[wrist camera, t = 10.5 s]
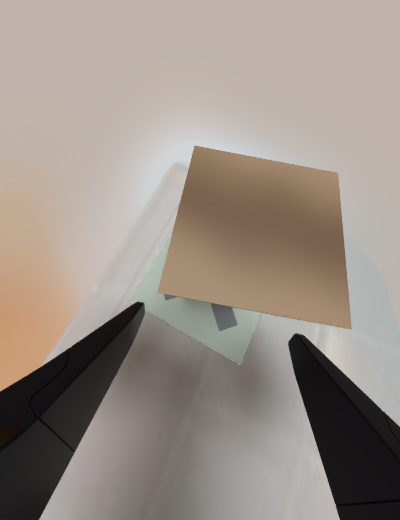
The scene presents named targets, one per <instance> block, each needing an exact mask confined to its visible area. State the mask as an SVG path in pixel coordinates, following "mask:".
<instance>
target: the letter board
mask: <svg viewBox="0 0 400 520" xmlns="http://www.w3.org/2000/svg"><path fill="white" fill-rule="evenodd" d="M171 237H172V236H171ZM170 241H171V238H170V239H169V241H168V242H167V244H166V245H165V247H164V249H163V250H162V252H161V253H160V255H159V256H158V258H157V259H156V261H155V263H154V264H153V266H152V267H151V269H150V270H149V272H148V273H147V275H146V276H145V278H144V280H143V281H142V283H141V284H140V286H139V287H138V289H137V290H136V292H135V294H134V295H133V297H132V298H131V300H130V301H129V302H131V303H133V304H134V303H136V302H138V301H139V302H143V303H144V304H145V311H147V312H148V313H150V314H152V315H154V316H155V317H157V318H159V319H160V320H162V321H164V322H166V323H167V324H169V325H171V326H173V327H174V328H176V329H178V330H179V331H181V332H183V333H185V334H186V335H188V336H190V337H191V338H193V339H195V340H197V341H198V342H200V343H202V344H204V345H205V346H207V347H209V348H210V349H212V350H214V351H216V352H217V353H219V354H221V355H223V356H224V357H226V358H228V359H229V360H231V361H233V362H235V363H236V364H238V365H240V366H241V364H242V362H243V359H244V357H245V354H246V352H247V349H248V346H249V344H250V341H251V339H252V336H253V334H254V331H255V328H256V326H257V323H258V321H259V318H260V316H261V312H255V311H250V310H244V309H239V308H234V307H228V306H223V305H218V304H212V303H207V302H202V301H197V300H191V299H186V298H181V297H176V296H171V295H167V294H162V293H157V292H158V288H159V284H160V280H161V276H162V272H163V268H164V264H165V260H166V256H167V252H168V248H169V245H170Z"/></svg>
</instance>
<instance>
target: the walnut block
mask: <svg viewBox="0 0 400 520" xmlns="http://www.w3.org/2000/svg"><path fill="white" fill-rule="evenodd" d="M157 293H162V294H167V295H171V296H176V297H181V298H186V299H191V300H197V301H202V302H207V303H212V304H218V305H223V306H228V307H234V308H239V309H244V310H250V311H255V312H261V313H266V314H271V315H277V316H282V317H288V318H293V319H298V320H304V321H309V322H315V323H320V324H325V325H331V326H336V327H342V328H347V329H352V328H351V317H350V305H349V294H348V283H347V271H346V260H345V248H344V237H343V225H342V214H341V203H340V191H339V181H338V173H335V172H330V171H324V170H319V169H314V168H309V167H304V166H298V165H293V164H288V163H283V162H277V161H272V160H266V159H261V158H256V157H251V156H246V155H240V154H235V153H230V152H225V151H220V150H214V149H209V148H204V147H199V146H194V151H193V154H192V159H191V162H190V166H189V170H188V174H187V178H186V182H185V186H184V190H183V194H182V197H181V201H180V205H179V209H178V213H177V217H176V221H175V225H174V229H173V233H172V237H171V241H170V245H169V248H168V252H167V256H166V260H165V264H164V268H163V272H162V276H161V280H160V284H159V288H158V292H157Z"/></svg>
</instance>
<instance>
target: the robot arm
mask: <svg viewBox="0 0 400 520" xmlns="http://www.w3.org/2000/svg"><path fill="white" fill-rule="evenodd" d="M144 314H145V304H144V303H143V302H139V301H138V302H136V303H134V304H133V305H131V306H130V307H128V308H127V309H125V310H124V311H122V312H121V313H120V314H118V315H117V316H115V317H114V318H112V319H111V320H109V321H108V322H106V323H105V324H104V325H102V326H101V327H99V328H98V329H96V330H95V331H93V332H92V333H90V334H89V335H88V336H86V337H85V338H83V339H82V340H80V341H79V342H77V343H76V344H74V345H73V346H72V347H71V348H69V349H67V350H66V351H64V352H63V353H61V354H60V355H58V356H57V357H55V358H54V359H52V360H51V361H49V362H48V363H46V364H45V365H43V366H42V367H40V368H38V369H37V370H35V371H33V372H32V373H30V374H29V375H27V376H26V377H24V378H22V379H21V380H19V381H17V382H15V383H14V384H12V385H10V386H9V387H7V388H5V389H4V390H2V391H0V520H39V519H40V517H41V515H42V513H43V511H44V509H45V507H46V505H47V503H48V502H49V500H50V498H51V496H52V494H53V492H54V490H55V488H56V487H57V485H58V483H59V481H60V479H61V477H62V475H63V473H64V472H65V470H66V468H67V466H68V464H69V462H70V460H71V458H72V456H73V455H74V452H75V451H76V449H77V447H78V445H79V443H80V441H81V439H82V437H83V436H84V434H85V432H86V430H87V428H88V426H89V424H90V422H91V421H92V419H93V417H94V415H95V413H96V411H97V409H98V407H99V406H100V404H101V402H102V400H103V398H104V396H105V394H106V392H107V391H108V389H109V387H110V385H111V383H112V381H113V379H114V377H115V375H116V374H117V372H118V370H119V368H120V366H121V364H122V362H123V360H124V359H125V357H126V355H127V353H128V351H129V349H130V347H131V345H132V343H133V341H134V339H135V337H136V334H137V332H138V329H139V327H140V324H141V322H142V319H143V317H144ZM288 346H289V350H290V355H291V360H292V364H293V369H294V373H295V377H296V380H297V383H298V386H299V390H300V393H301V396H302V399H303V402H304V406H305V409H306V412H307V415H308V418H309V422H310V425H311V428H312V431H313V434H314V438H315V441H316V444H317V447H318V450H319V454H320V457H321V460H322V463H323V466H324V470H325V473H326V476H327V479H328V482H329V486H330V489H331V492H332V495H333V498H334V502H335V504H336V508H337V512H338V515H339V518H340V520H400V427H399V426H398V425H397V424H396V423H395V422H394V421H393V420H392V419H391V418H390V417H389V416H388V415H387V414H386V413H385V412H383V411H382V410H381V409H380V408H379V407H378V406H377V405H376V404H375V403H374V402H373V401H372V400H371V399H370V398H369V397H368V396H367V395H366V394H365V393H364V392H363V391H362V390H361V389H359V388H358V387H357V386H356V385H355V384H354V383H353V382H352V381H351V380H350V379H349V378H348V377H347V376H346V375H345V374H344V373H343V372H342V371H341V370H340V369H339V368H338V367H336V366H335V365H334V364H333V363H332V362H331V361H330V360H329V359H328V358H327V357H326V356H325V355H324V354H323V353H322V352H321V351H320V350H319V349H318V348H317V347H316V346H315V345H314V344H312V343H311V342H310V341H309V340H308V339H307V338H306V337H305V336H304V335H302V334H297V333H296V334H294V335H293V337H292V338H291V339H290V340H289V343H288Z"/></svg>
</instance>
